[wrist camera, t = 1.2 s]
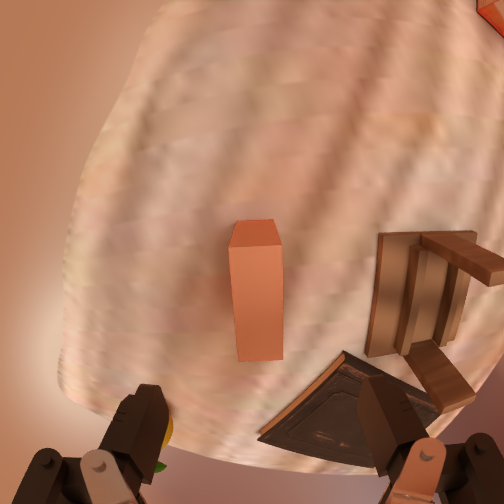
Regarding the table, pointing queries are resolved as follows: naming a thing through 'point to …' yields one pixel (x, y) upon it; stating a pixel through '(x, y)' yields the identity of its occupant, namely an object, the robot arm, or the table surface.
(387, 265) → the track frame
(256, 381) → the table surface
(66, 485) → the robot arm
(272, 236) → the door panel
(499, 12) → the cracker box
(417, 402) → the hardcover book
